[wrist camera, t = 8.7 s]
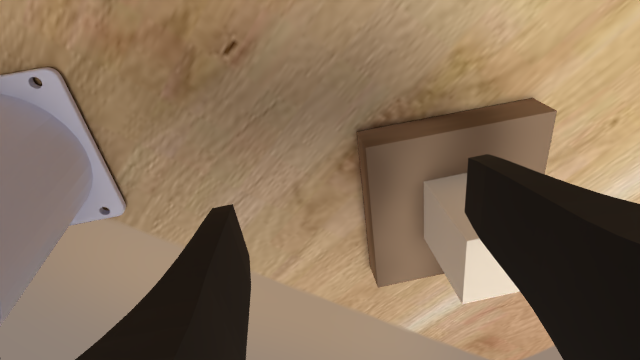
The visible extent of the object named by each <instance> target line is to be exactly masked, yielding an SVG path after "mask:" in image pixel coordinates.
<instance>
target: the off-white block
mask: <svg viewBox="0 0 640 360" xmlns="http://www.w3.org/2000/svg"><path fill="white" fill-rule="evenodd" d="M466 183H467V173H463V174H459V175H454V176H449V177H444V178H439V179H434V180H429V181H424V239H425V241H426V243H427V244H428V246H429V248H430V249H431V251H432V253H433V255H434V256H435V258H436V260H437V261H438V263H439V265H440V267H441V268H442V270H443V272H444V273H445V275H446V277H447V279H448V280H449V282H450V284H451V285H452V287H453V289H454V291H455V292H456V294H457V296H458V297H459V299H460V301H461V302H462V304H465V303H470V302H474V301H479V300H484V299H488V298H493V297H497V296H502V295H506V294H511V293H515V292H520V291H519V289H518V288H517V287H516V285H515V284H514V283H513V282H512V280H511V279H510V278H509V276H508V275H507V274H506V273H505V271H504V270H503V269H502V267H501V266H500V265H499V264H498V262H497V261H496V260H495V258H494V257H493V256H492V255H491V253H490V252H489V251H488V249H487V248H486V247H485V245H484V244H483V243H482V241H481V240H480V239H479V237H478V235H477V234H476V232H475V230H474V229H473V227H472V225H471V223H470V221H469V219H468V218H467V216H466V214H465V212H464V211H465V197H466Z"/></svg>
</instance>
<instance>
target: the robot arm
mask: <svg viewBox="0 0 640 360" xmlns="http://www.w3.org/2000/svg"><path fill="white" fill-rule="evenodd" d="M33 77H37V78H38V79H40V80H41V82H42V86H39V85H37V84H35V82H34V81H33ZM102 207H107V208H108V209H109V210H110V211H106V210H104V209H103V208H102ZM125 209H126V204H125V202H124V200H123V198H122V196H121V194H120V192H119V190H118V188H117V186H116V184H115V182H114V180H113V178H112V176H111V174H110V172H109V170H108V168H107V166H106V164H105V162H104V160H103V158H102V156H101V154H100V152H99V150H98V148H97V146H96V144H95V142H94V140H93V138H92V136H91V134H90V132H89V130H88V128H87V126H86V124H85V122H84V120H83V118H82V116H81V114H80V112H79V110H78V108H77V106H76V104H75V102H74V100H73V98H72V96H71V94H70V92H69V90H68V88H67V86H66V84H65V82H64V80H63V78H62V76H61V75H60V73H59V72H58V71H56V70H55V69H53V68H50V67H44V68H38V69H32V70H27V71H21V72H15V73H10V74H4V75H0V326H1V325H2V323H3V321H4V320H5V319H6V317H7V316H8V314H9V313H10V311H11V310H12V308H13V307H14V306H15V304H16V302H17V301H18V300H19V298H20V297H21V295H22V294H23V292H24V291H25V289H26V288H27V286H28V285H29V283H30V282H31V281H32V279H33V277H34V276H35V275H36V273H37V272H38V270H39V269H40V267H41V266H42V264H43V263H44V262H45V260H46V259H47V257H48V256H49V254H50V253H51V251H52V250H53V248H54V247H55V245H56V244H57V242H58V241H59V239H60V238H61V237H62V235H63V234H64V232H65V231H66V229H67V228H68V226H70V225H75V224H80V223H85V222H91V221H95V220H101V219H106V218H111V217H116V216H120V215H122V214H123V213H124V211H125ZM464 212H465V214H466V216H467V218H468V219H469V221H470V223H471V225H472V227H473V229H474V230H475V232H476V234H477V235H478V237H479V239H480V240H481V241H482V243H483V244H484V245H485V247H486V248H487V249H488V251H489V252H490V253H491V255H492V256H493V257H494V258H495V260H496V261H497V262H498V264H499V265H500V266H501V267H502V269H503V270H504V271H505V273H506V274H507V275H508V276H509V278H510V279H511V280H512V282H513V283H514V284H515V285H516V287H517V288H518V289H519V291H520V292H521V293H522V294H523V296H524V297H525V299H526V300H527V301H528V303H529V304H530V306H531V307H532V308H533V310H534V312H535V313H536V315H537V316H538V318H539V320H540V321H541V323H542V324H543V326H544V328H545V329H546V331H547V333H548V334H549V336H550V337H551V339H552V341H553V342H554V344H555V346H556V347H557V349H558V351H559V353H560V354H561V356H562V358H563V359H564V360H640V204H637V203H633V202H629V201H626V200H622V199H618V198H614V197H611V196H607V195H604V194H600V193H597V192H594V191H591V190H588V189H585V188H582V187H578V186H575V185H572V184H570V183H567V182H564V181H561V180H558V179H555V178H553V177H550V176H547V175H545V174H542V173H539V172H537V171H534V170H532V169H529V168H526V167H524V166H521V165H519V164H516V163H513V162H511V161H508V160H505V159H502V158H499V157H496V156H493V155H489V154H485V155H480V156H475V157H470V158H468V169H467V183H466V197H465V211H464ZM250 292H251V278H250V260H249V253H248V250H247V247H246V244H245V241H244V238H243V235H242V232H241V228H240V225H239V222H238V219H237V216H236V213H235V210H234V207H233V204H232V205H227V206H222V207H217V208H212V210H211V211H210V212H209V214H208V215H207V217H206V218H205V219H204V221H203V222H202V224H201V225H200V227H199V228H198V230H197V231H196V233H195V234H194V236H193V237H192V239H191V240H190V241H189V243H188V244H187V246H186V247H185V248H184V250H183V251H182V253H181V254H180V255H179V257H178V258H177V259H176V260H175V262H174V263H173V264H172V266H171V267H170V268H169V269H168V270H167V272H166V273H165V274H164V276H163V277H162V278H161V279H160V280H159V281H158V283H157V284H156V285H155V286H154V287H153V288H152V290H151V291H150V292H149V293H148V294H147V295H146V296H145V297H144V298H143V299H142V300H141V301H140V302H139V303H138V304H137V305H136V306H135V307H134V308H133V309H132V310H131V311H130V312H129V313H128V314H127V315H126V316H125V317H124V318H123V319H122V320H120V321H119V323H117V324H116V325H115V326H114V327H113V328H112V329H111V330H109V331H108V332H107V333H106V334H105V335H104V336H103V337H102V338H101V339H100V340H98V341H97V342H96V343H95V344H94V345H93V346H91V347H90V348H89V349H88V350H86V351H85V352H84V353H83V354H82V355H80V356H79V357H78V358H77V359H75V360H246V346H247V332H248V320H249V307H250ZM0 359H1V358H0Z"/></svg>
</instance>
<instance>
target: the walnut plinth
mask: <svg viewBox="0 0 640 360" xmlns="http://www.w3.org/2000/svg"><path fill="white" fill-rule="evenodd" d="M556 113H557V111H556V110H554V109H552V108H550V107H549V106H547V105H545V104H543V103H541V102H539V101H537V100H535V99H534V98H531V99H526V100H520V101H515V102H510V103H505V104H500V105H494V106H489V107H484V108H479V109H473V110H468V111H463V112H458V113H452V114H447V115H442V116H437V117H431V118H426V119H421V120H416V121H411V122H405V123H400V124H395V125H390V126H384V127H379V128H374V129H369V130H363V131H358V132H357V140H358V150H359V160H360V170H361V180H362V190H363V200H364V210H365V220H366V231H367V241H368V251H369V261H370V267H371V270H372V273H373V275H374V278H375V281H376V284H377V286H378V287H383V286H388V285H392V284H397V283H402V282H406V281H411V280H416V279H421V278H425V277H430V276H435V275H440V274H444V272H443V270H442V268H441V267H440V265H439V263H438V261H437V260H436V258H435V256H434V255H433V253H432V251H431V249H430V248H429V246H428V244H427V243H426V241H425V239H424V181H429V180H434V179H439V178H444V177H449V176H454V175H459V174H463V173H467V169H468V158H470V157H475V156H480V155H485V154H489V155H493V156H496V157H499V158H502V159H505V160H508V161H511V162H513V163H516V164H519V165H521V166H524V167H526V168H529V169H532V170H534V171H537V172H539V173H542V174H545V169H546V164H547V159H548V154H549V149H550V144H551V138H552V133H553V128H554V123H555V118H556Z"/></svg>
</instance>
